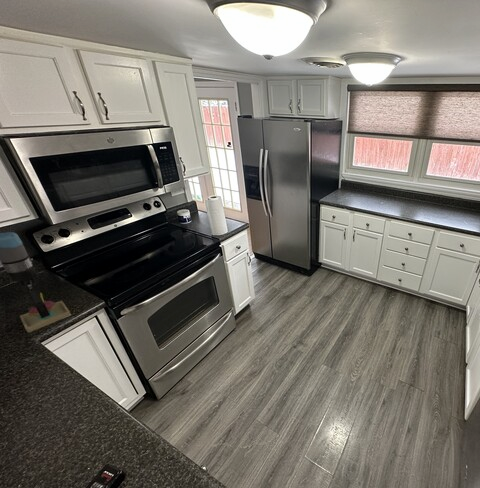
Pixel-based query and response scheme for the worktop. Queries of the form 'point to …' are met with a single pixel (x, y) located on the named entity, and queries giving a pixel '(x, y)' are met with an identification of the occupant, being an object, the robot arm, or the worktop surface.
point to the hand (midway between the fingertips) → (42, 309)
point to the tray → (36, 323)
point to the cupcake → (49, 306)
